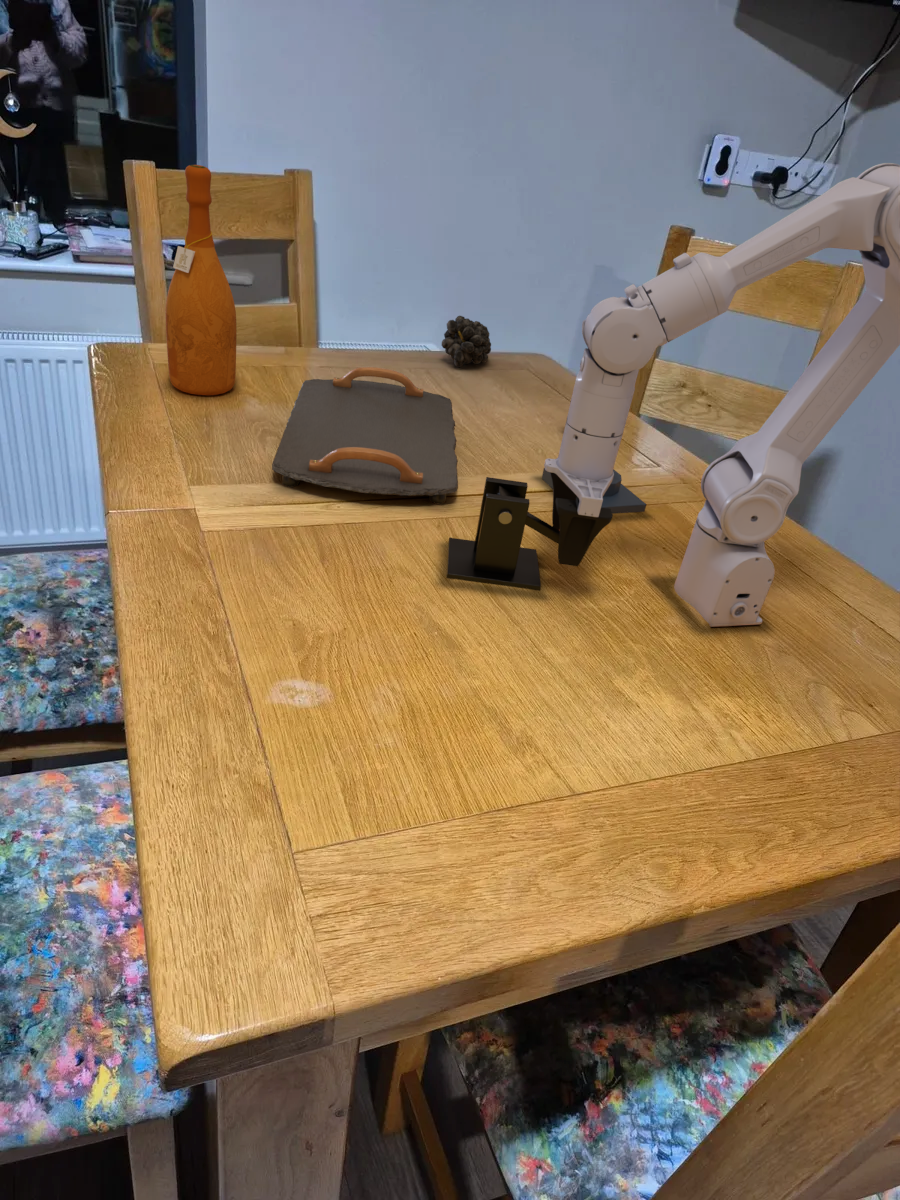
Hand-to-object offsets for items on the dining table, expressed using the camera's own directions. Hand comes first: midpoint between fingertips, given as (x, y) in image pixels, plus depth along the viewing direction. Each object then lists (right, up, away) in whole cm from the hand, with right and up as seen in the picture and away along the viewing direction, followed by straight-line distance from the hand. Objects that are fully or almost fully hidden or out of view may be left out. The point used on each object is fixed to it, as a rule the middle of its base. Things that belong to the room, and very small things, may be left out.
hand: (564, 545), depth 89 cm
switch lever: (-4, +2, -1) cm, 5 cm away
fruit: (-12, +43, +66) cm, 79 cm away
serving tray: (-23, +15, +26) cm, 38 cm away
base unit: (+7, +8, +22) cm, 24 cm away
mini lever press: (-8, -3, +2) cm, 8 cm away
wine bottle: (-50, +26, +36) cm, 67 cm away
